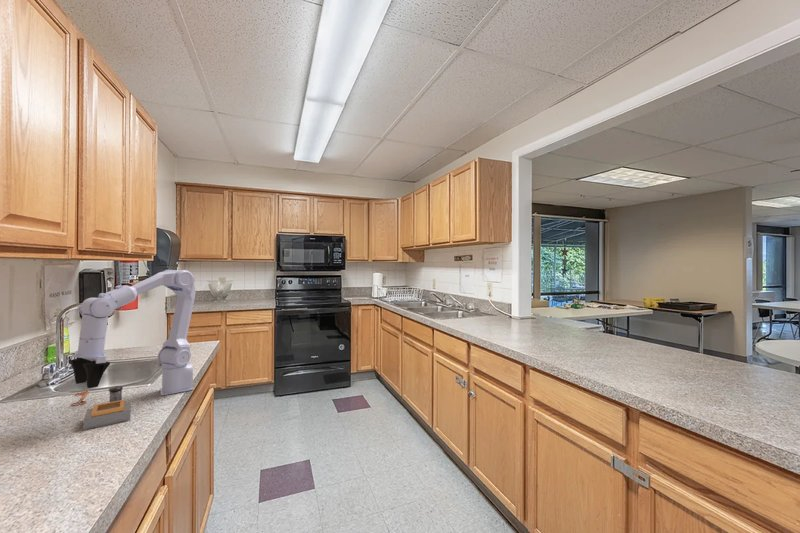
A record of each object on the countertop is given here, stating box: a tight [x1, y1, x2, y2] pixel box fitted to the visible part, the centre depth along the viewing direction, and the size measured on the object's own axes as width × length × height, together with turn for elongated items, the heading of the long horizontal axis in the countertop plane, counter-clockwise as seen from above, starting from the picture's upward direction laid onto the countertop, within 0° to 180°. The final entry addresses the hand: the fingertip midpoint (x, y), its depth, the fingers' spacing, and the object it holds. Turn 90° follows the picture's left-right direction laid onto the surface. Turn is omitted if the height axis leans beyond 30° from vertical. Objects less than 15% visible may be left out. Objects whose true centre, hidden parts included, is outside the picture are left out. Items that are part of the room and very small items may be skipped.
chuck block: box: [83, 399, 132, 431], centre depth 97 cm, size 10×8×4 cm
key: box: [69, 389, 91, 407], centre depth 112 cm, size 6×1×15 cm
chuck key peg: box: [108, 385, 124, 402], centre depth 107 cm, size 3×3×6 cm
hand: (86, 385), depth 96 cm, fingers open, 7 cm apart
